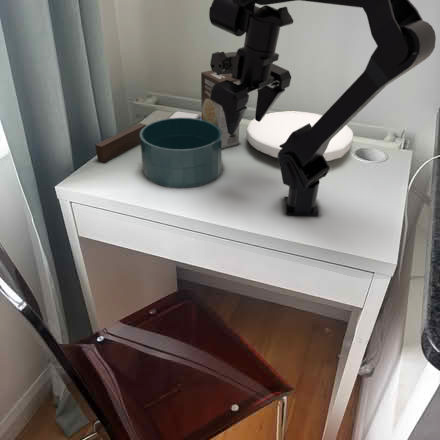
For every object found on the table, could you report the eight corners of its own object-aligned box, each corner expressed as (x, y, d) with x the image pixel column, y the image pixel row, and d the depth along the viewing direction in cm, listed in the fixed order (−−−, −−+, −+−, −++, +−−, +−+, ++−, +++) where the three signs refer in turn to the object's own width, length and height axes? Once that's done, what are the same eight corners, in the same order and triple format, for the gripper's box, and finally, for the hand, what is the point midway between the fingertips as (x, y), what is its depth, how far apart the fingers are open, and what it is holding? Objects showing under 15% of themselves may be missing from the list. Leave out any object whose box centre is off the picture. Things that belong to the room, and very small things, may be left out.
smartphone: (200, 114, 129) (179, 133, 118) (200, 116, 130) (180, 135, 119) (176, 110, 131) (154, 129, 120) (176, 113, 131) (154, 131, 121)
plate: (245, 106, 123) (343, 109, 123) (244, 130, 127) (339, 133, 127) (249, 137, 100) (369, 140, 100) (247, 165, 104) (363, 169, 104)
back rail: (147, 139, 117) (146, 124, 114) (104, 162, 107) (101, 146, 104) (141, 138, 118) (139, 122, 115) (97, 160, 108) (95, 144, 105)
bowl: (219, 189, 98) (220, 151, 93) (137, 186, 99) (132, 148, 93) (222, 153, 112) (223, 118, 106) (150, 150, 112) (147, 116, 107)
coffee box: (200, 136, 119) (199, 71, 108) (220, 132, 122) (222, 67, 111) (219, 149, 113) (220, 82, 103) (240, 144, 116) (243, 77, 105)
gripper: (254, 22, 89) (241, 99, 101) (191, 39, 78) (184, 124, 90) (301, 41, 85) (281, 120, 97) (242, 63, 74) (228, 148, 86)
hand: (244, 127), depth 92 cm, fingers open, 9 cm apart
